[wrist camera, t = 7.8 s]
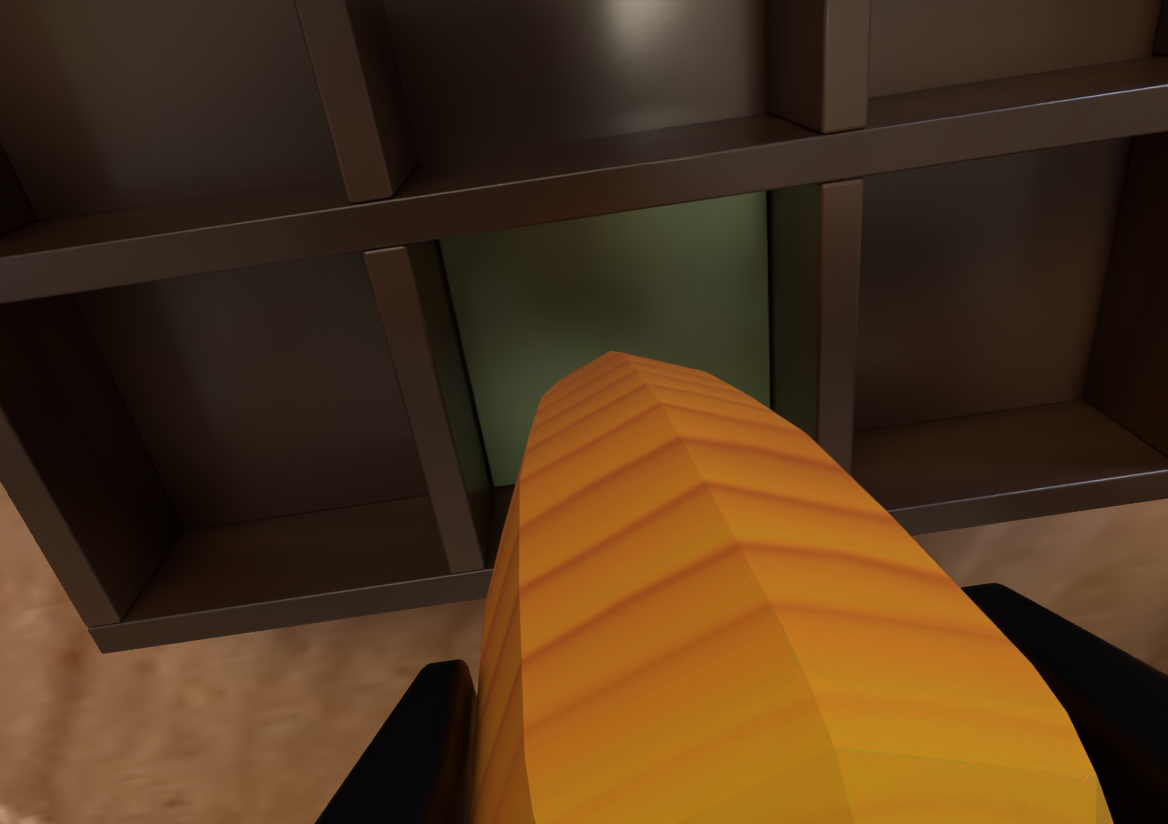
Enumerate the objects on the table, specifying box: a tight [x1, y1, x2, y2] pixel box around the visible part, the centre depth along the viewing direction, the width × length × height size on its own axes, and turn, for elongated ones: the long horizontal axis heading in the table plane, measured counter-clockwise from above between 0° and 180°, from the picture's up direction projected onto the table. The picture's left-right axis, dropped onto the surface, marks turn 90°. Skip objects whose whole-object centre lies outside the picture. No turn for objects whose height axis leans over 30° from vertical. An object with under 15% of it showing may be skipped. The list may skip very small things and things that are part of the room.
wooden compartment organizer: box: [0, 0, 1168, 654], centre depth 13 cm, size 15×22×4 cm
